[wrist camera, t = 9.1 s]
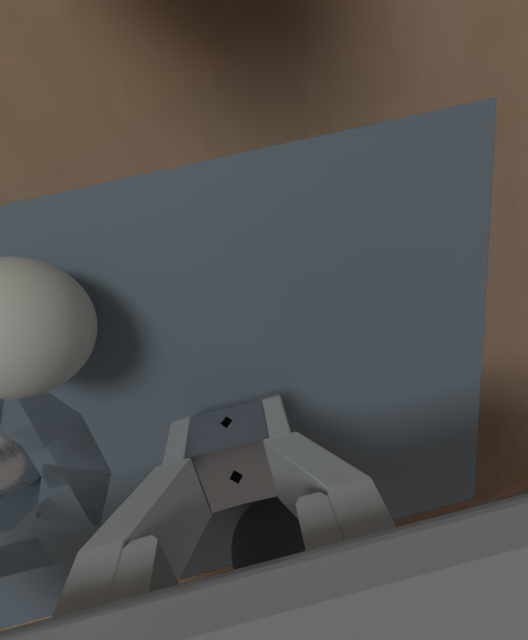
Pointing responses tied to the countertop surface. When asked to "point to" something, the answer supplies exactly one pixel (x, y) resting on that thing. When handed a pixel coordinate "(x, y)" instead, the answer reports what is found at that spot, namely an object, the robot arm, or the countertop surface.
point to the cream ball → (41, 327)
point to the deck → (260, 325)
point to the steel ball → (15, 466)
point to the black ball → (265, 534)
